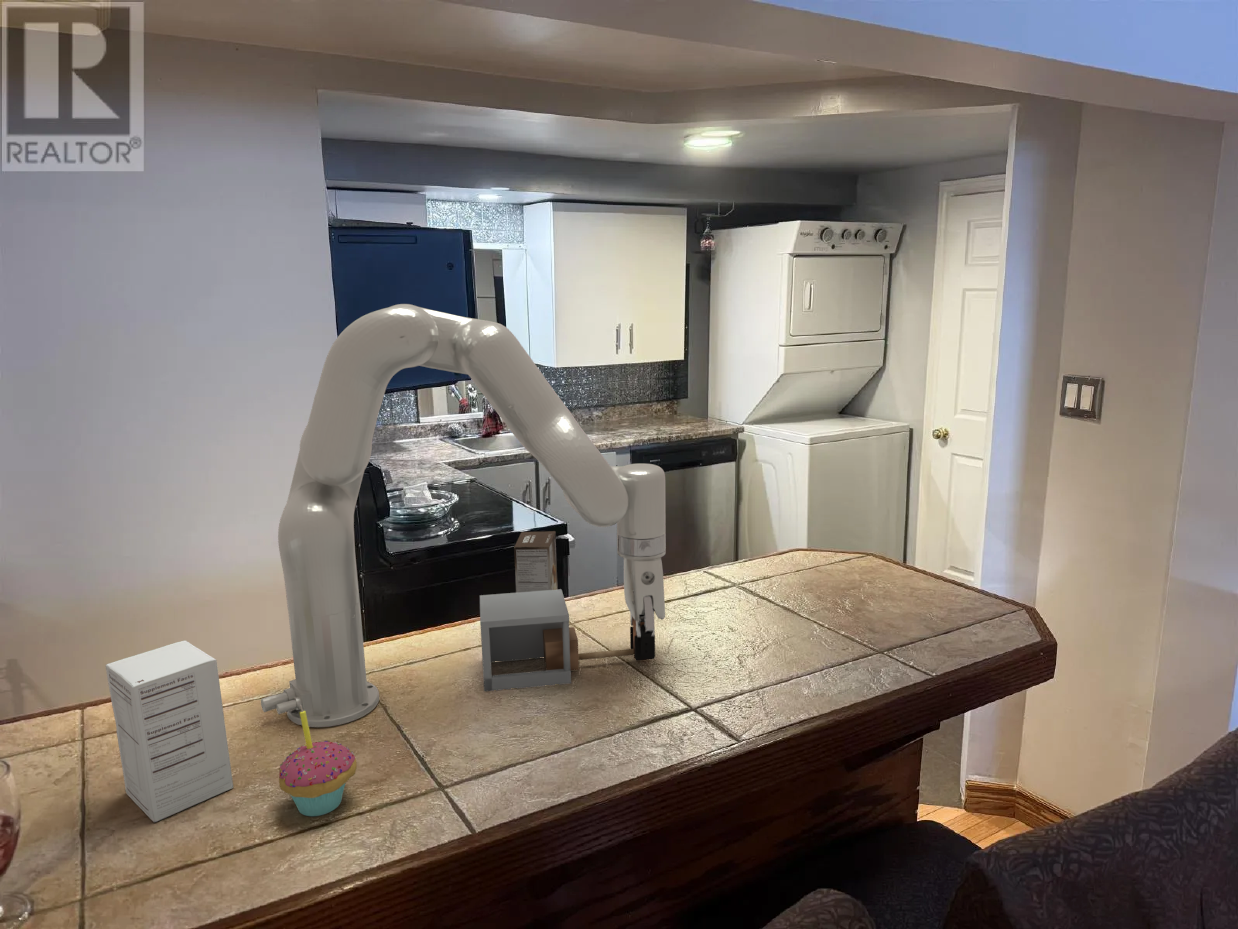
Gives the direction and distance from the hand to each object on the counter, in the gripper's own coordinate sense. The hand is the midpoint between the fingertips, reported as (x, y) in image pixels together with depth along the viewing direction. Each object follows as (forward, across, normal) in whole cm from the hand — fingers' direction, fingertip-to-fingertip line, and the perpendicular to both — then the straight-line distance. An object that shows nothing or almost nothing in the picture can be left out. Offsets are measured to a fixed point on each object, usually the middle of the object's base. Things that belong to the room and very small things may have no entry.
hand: (642, 653), depth 133 cm
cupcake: (+2, -30, +44) cm, 53 cm away
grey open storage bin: (+1, 0, +19) cm, 19 cm away
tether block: (+1, 0, +7) cm, 7 cm away
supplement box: (+2, -24, +62) cm, 66 cm away
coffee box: (+1, +18, +15) cm, 24 cm away
